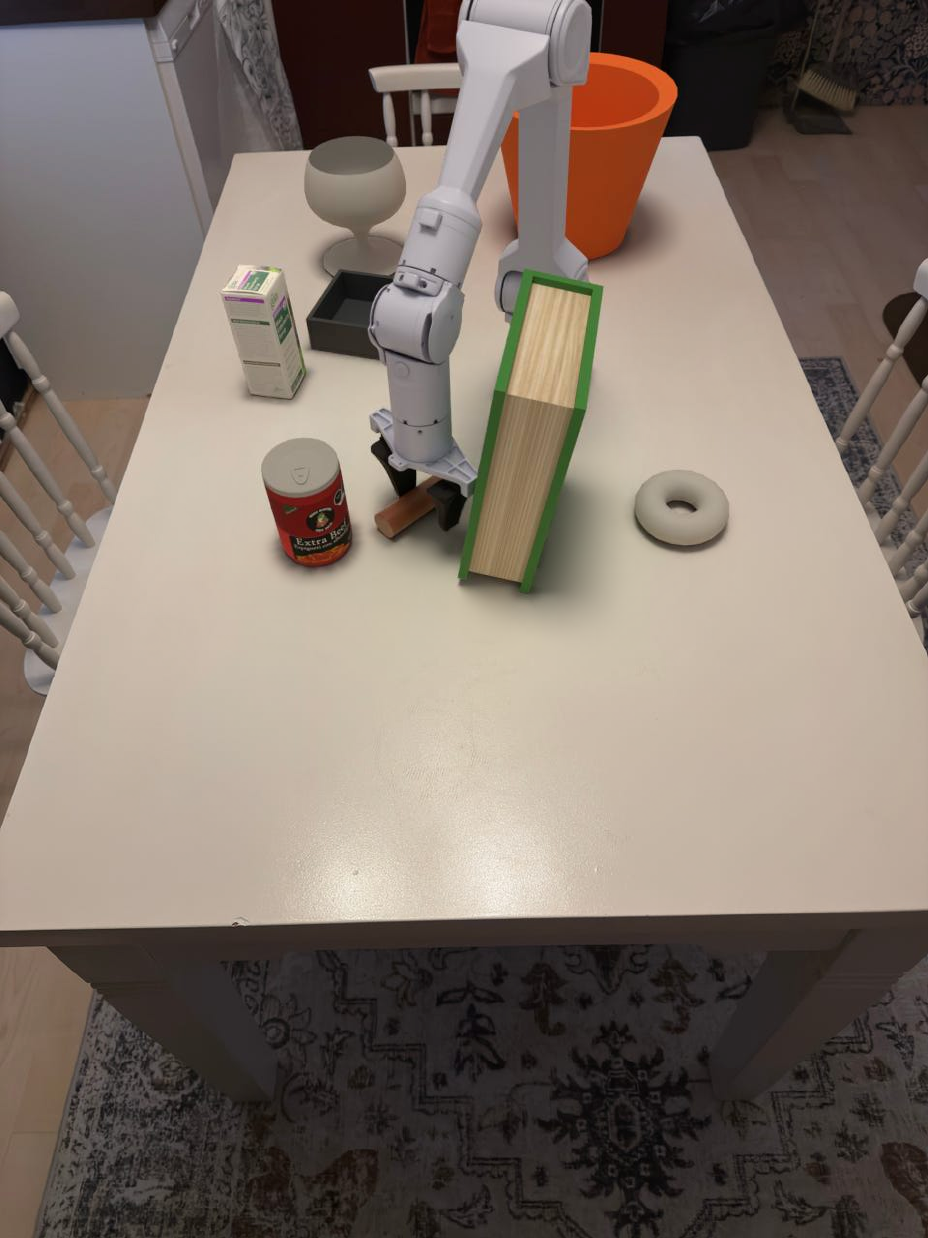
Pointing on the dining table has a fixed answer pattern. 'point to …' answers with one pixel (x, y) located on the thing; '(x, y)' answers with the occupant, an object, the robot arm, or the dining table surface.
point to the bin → (346, 314)
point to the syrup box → (264, 330)
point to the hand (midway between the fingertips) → (428, 509)
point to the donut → (681, 525)
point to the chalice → (356, 200)
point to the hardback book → (532, 425)
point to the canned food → (308, 500)
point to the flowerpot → (605, 148)
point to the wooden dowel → (406, 509)
